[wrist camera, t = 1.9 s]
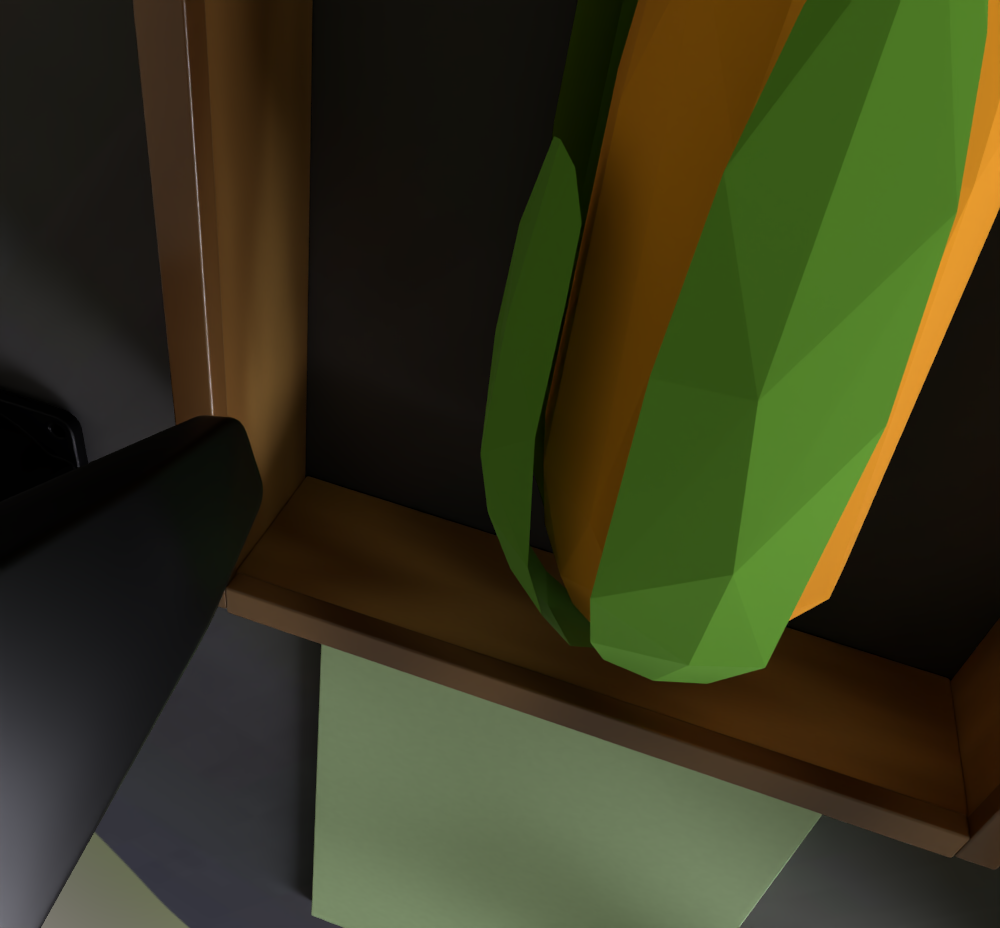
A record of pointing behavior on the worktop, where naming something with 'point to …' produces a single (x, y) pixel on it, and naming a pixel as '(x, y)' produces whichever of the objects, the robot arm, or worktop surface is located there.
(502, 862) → the mat
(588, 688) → the wooden tray
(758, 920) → the worktop surface
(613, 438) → the corn
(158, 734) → the worktop surface
